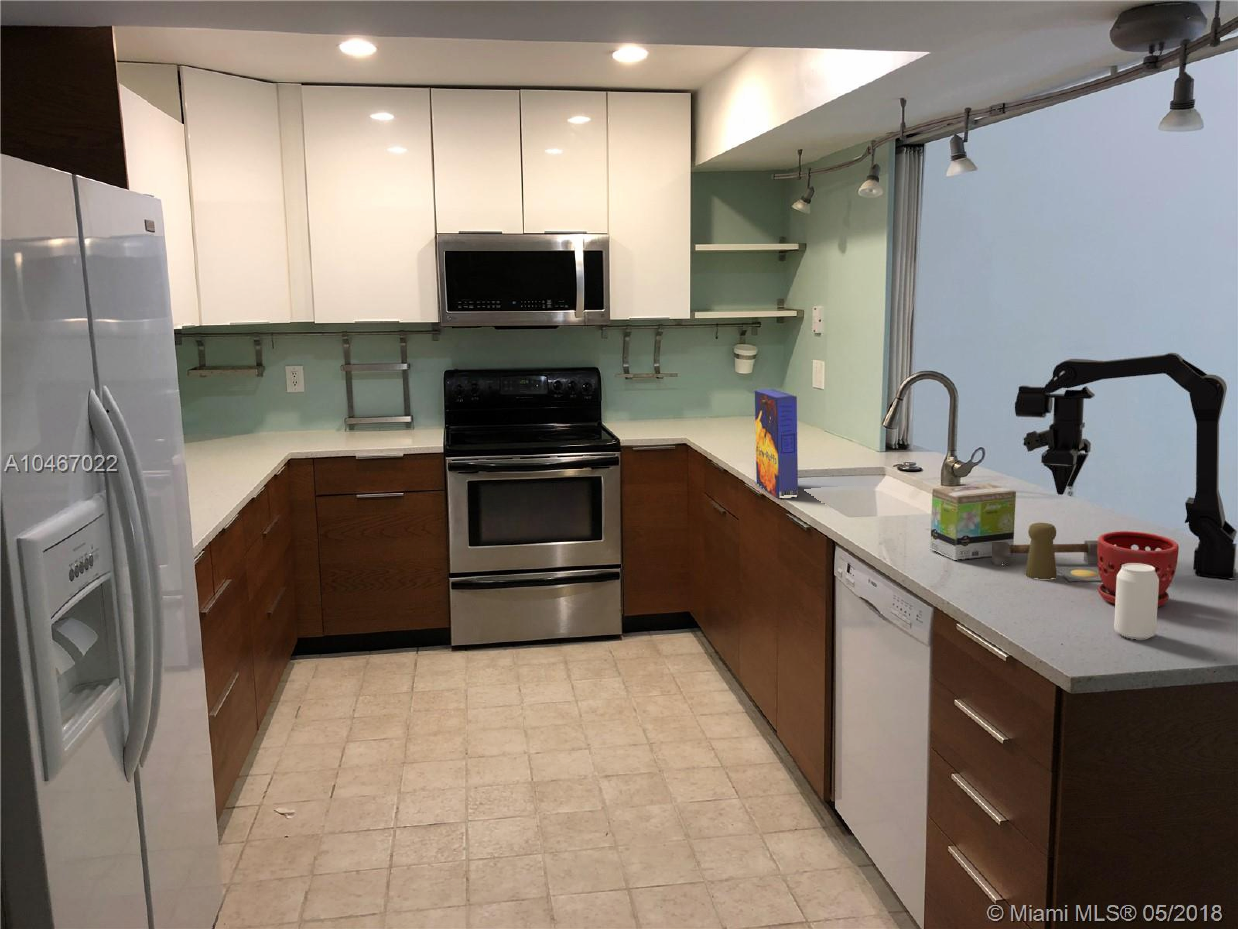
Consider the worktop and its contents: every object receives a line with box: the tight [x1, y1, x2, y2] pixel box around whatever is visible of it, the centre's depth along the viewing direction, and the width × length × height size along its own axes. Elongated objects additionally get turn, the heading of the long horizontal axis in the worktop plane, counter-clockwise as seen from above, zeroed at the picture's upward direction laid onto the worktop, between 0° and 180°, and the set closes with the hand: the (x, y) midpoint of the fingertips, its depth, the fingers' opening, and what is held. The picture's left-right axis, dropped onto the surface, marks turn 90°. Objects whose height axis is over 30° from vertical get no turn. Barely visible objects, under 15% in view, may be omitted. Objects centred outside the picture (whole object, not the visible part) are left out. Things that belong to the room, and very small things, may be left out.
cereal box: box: [754, 388, 799, 500], centre depth 282 cm, size 22×6×30 cm, turn 8°
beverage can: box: [1113, 563, 1159, 641], centre depth 158 cm, size 6×6×12 cm
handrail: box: [991, 540, 1103, 566], centre depth 201 cm, size 22×3×4 cm, turn 83°
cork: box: [1024, 522, 1058, 579], centre depth 192 cm, size 6×6×11 cm
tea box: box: [929, 483, 1017, 560], centre depth 210 cm, size 15×10×15 cm, turn 105°
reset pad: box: [1056, 566, 1103, 583], centre depth 192 cm, size 9×9×1 cm
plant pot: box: [1097, 530, 1180, 608], centre depth 174 cm, size 13×13×12 cm
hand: (1065, 490), depth 203 cm, fingers open, 9 cm apart
